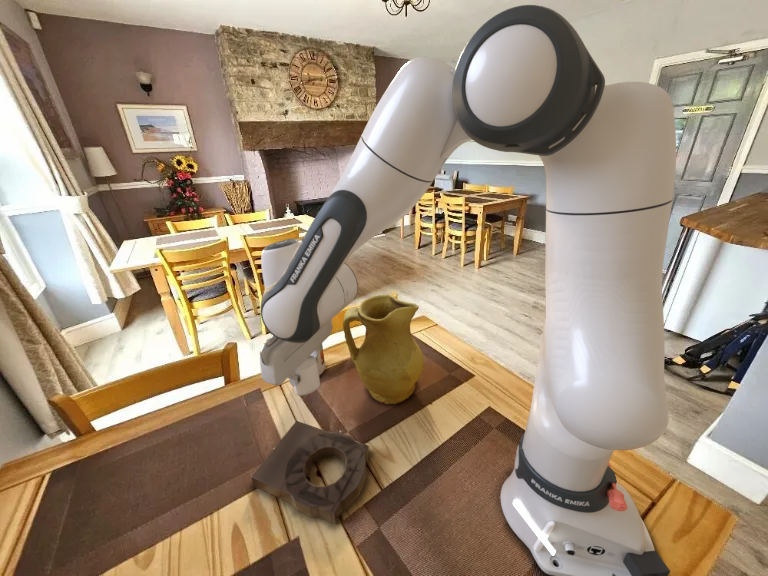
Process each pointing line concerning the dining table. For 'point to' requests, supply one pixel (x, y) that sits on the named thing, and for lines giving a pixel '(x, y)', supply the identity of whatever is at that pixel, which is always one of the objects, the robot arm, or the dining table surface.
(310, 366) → the eye dropper bottle
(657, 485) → the dining table surface
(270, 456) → the grey ring plate
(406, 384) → the pitcher
